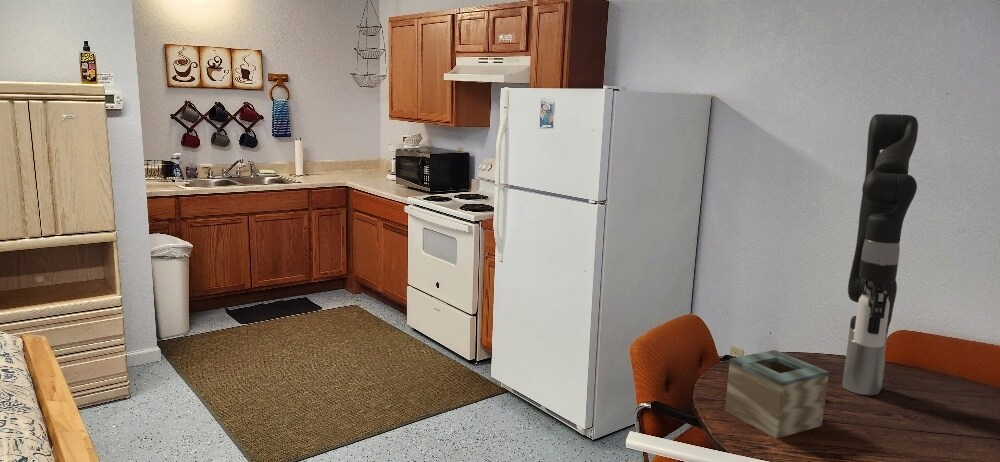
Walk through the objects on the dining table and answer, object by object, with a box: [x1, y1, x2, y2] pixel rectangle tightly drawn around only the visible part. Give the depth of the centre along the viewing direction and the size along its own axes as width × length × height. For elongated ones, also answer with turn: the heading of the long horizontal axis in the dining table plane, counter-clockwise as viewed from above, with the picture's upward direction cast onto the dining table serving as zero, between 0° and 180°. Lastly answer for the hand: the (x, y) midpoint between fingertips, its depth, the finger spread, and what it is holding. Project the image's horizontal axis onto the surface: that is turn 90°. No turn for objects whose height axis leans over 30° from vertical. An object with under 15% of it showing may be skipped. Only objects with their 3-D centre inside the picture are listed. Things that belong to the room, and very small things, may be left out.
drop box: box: [724, 349, 830, 440], centre depth 169 cm, size 16×16×14 cm
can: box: [854, 292, 890, 348], centre depth 160 cm, size 6×6×12 cm
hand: (870, 328), depth 161 cm, fingers closed on can, 6 cm apart
